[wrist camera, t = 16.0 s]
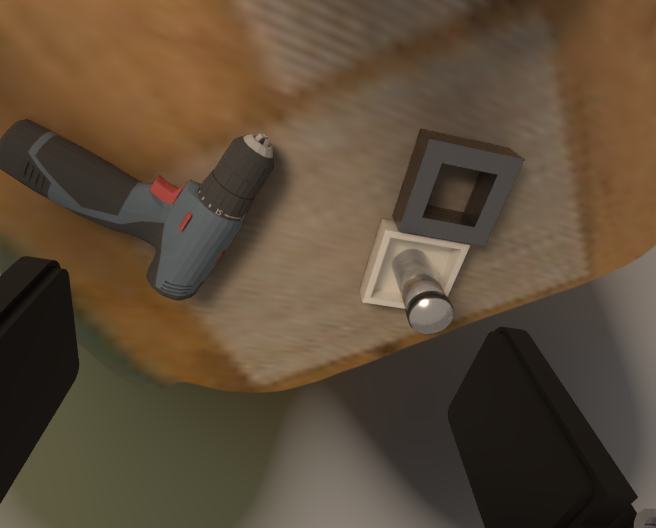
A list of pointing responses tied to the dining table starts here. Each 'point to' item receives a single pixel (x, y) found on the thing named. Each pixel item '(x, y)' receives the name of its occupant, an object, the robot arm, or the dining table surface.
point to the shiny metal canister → (421, 292)
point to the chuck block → (483, 202)
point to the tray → (391, 242)
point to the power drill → (146, 199)
